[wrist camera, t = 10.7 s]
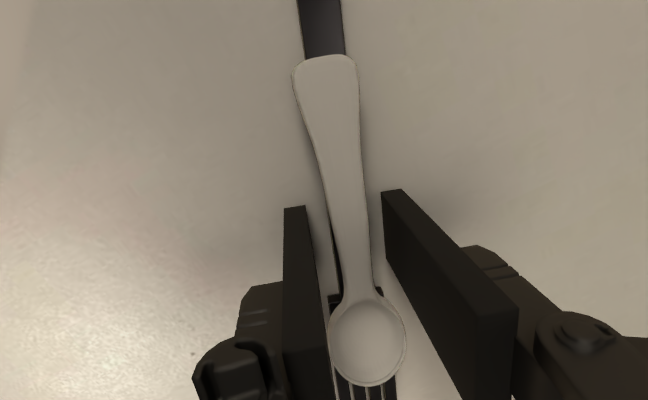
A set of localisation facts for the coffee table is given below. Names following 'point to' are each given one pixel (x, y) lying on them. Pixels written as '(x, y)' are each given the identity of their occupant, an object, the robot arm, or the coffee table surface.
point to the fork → (321, 40)
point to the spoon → (348, 222)
